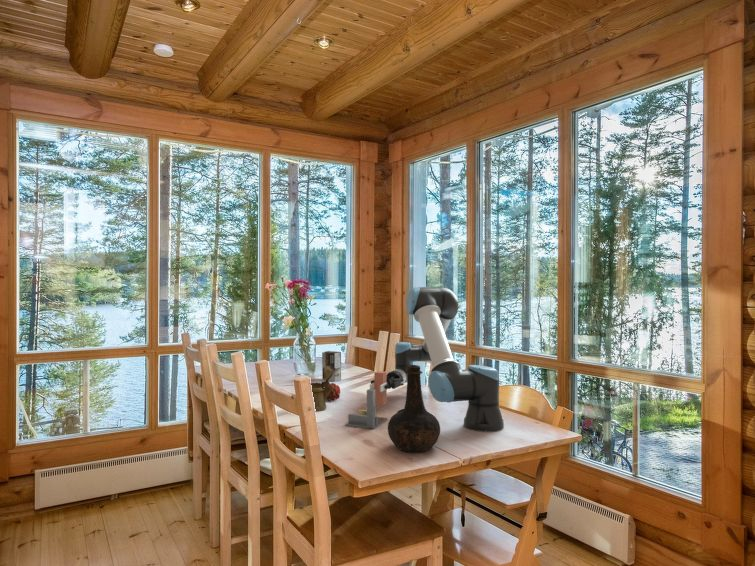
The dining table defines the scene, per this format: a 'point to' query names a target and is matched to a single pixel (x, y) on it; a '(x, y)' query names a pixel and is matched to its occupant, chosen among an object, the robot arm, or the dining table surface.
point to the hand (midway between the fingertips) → (375, 388)
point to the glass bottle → (413, 418)
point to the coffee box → (331, 365)
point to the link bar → (379, 379)
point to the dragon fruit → (333, 392)
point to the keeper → (366, 415)
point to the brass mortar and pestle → (321, 392)
